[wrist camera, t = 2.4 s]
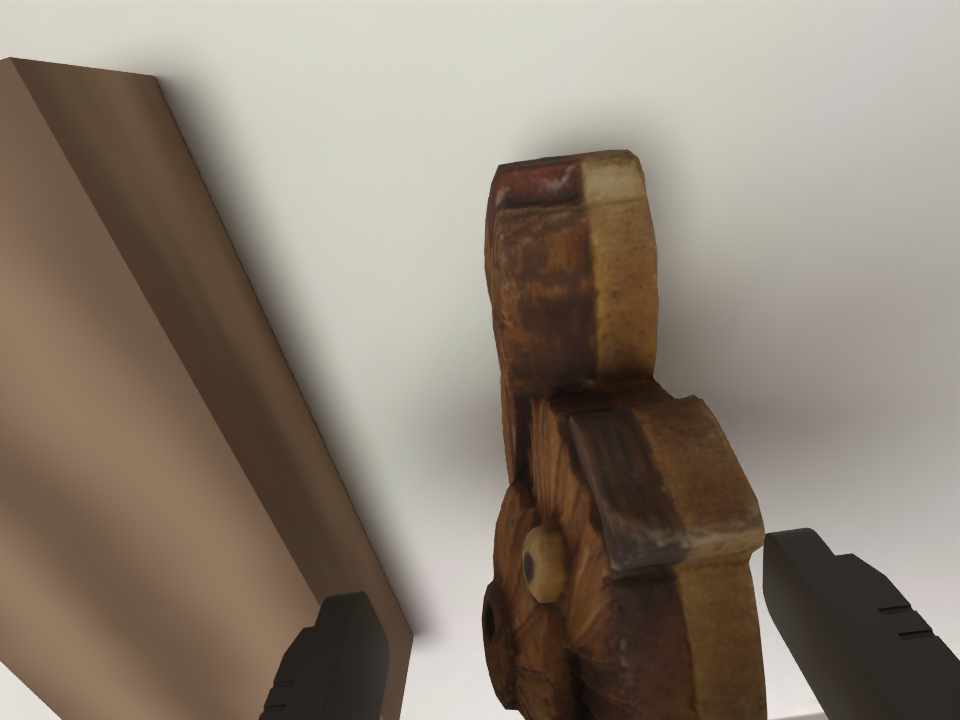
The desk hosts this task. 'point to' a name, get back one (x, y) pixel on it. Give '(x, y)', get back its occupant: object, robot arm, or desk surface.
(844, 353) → the desk surface
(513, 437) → the wooden carving
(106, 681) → the walnut plinth
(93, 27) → the desk surface
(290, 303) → the desk surface
